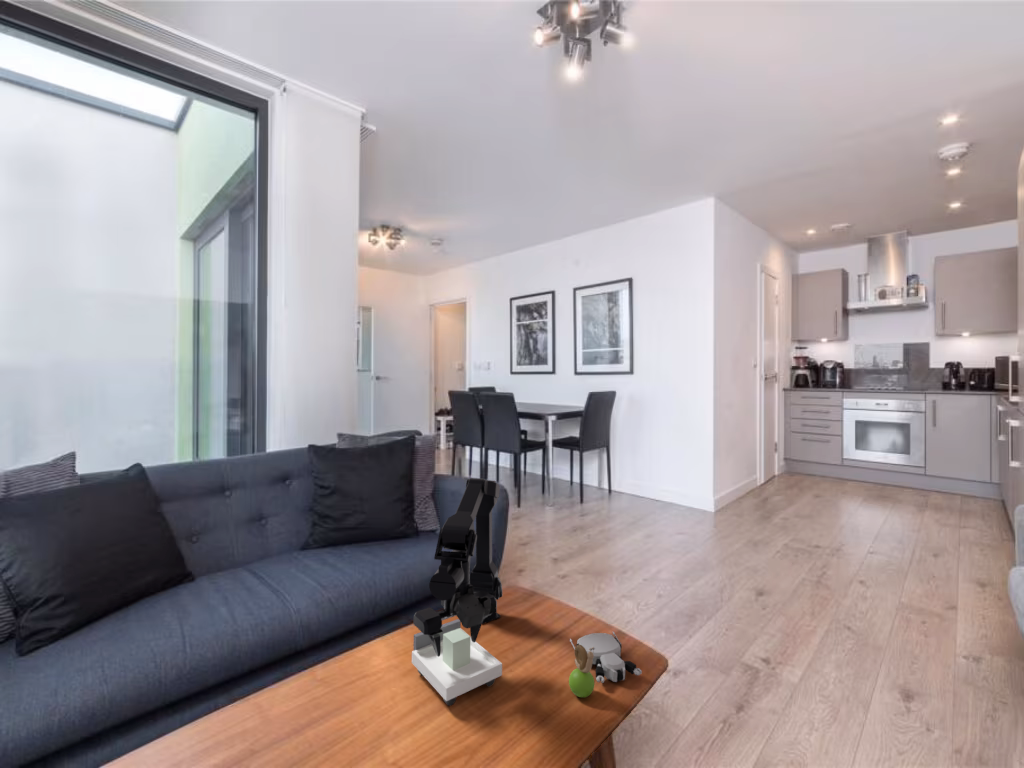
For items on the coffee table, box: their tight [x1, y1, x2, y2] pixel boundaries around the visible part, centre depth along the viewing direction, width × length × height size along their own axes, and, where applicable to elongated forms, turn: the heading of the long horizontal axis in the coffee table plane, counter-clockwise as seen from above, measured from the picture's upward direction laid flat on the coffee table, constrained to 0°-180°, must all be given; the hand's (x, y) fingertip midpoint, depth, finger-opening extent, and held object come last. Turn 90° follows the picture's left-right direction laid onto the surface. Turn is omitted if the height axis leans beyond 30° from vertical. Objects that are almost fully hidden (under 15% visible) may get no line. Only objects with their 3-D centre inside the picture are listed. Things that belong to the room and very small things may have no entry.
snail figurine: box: [568, 645, 595, 699], centre depth 99 cm, size 5×6×12 cm
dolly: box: [411, 618, 503, 707], centre depth 105 cm, size 17×14×8 cm
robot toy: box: [569, 631, 643, 684], centre depth 110 cm, size 12×4×15 cm
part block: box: [443, 628, 471, 670], centre depth 104 cm, size 4×4×6 cm
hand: (456, 648), depth 104 cm, fingers open, 9 cm apart
